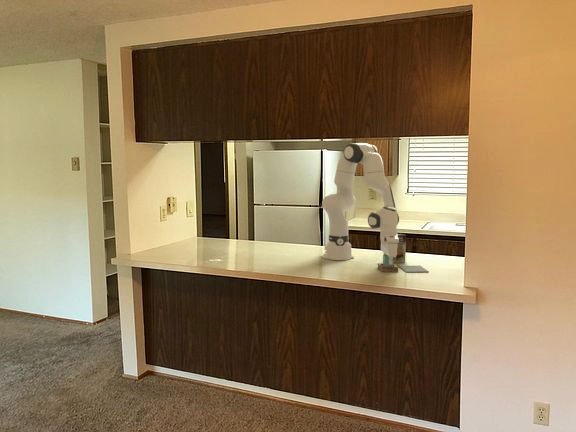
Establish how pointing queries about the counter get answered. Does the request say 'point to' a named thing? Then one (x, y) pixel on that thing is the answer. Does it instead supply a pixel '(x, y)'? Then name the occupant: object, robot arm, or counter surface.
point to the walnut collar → (388, 268)
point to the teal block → (386, 261)
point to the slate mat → (414, 269)
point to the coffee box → (400, 249)
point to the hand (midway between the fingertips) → (387, 262)
